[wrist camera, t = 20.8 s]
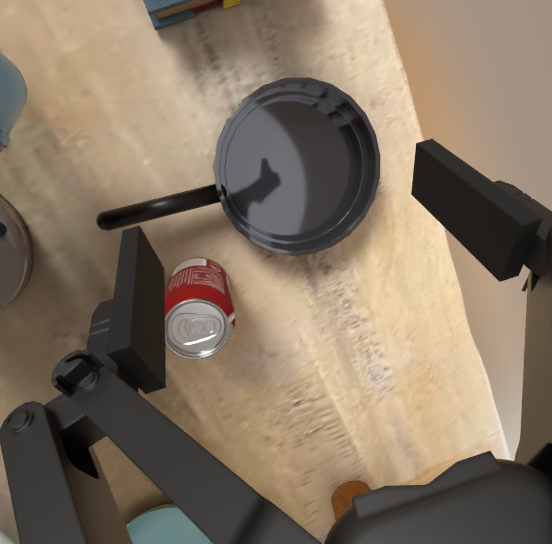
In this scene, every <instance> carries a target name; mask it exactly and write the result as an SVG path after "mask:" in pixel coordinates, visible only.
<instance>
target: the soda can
mask: <svg viewBox="0 0 552 544" xmlns="http://www.w3.org/2000/svg"><path fill="white" fill-rule="evenodd" d="M234 326H235V312H234V307H233V301H232V296H231V290H230V285H229V280H228V276H227V274H226V272H225V271H224V269H223V268H222V267H221V266H220V265H219V264H217V263H216V262H214V261H212V260H210V259H206V258H192V259H188V260H186V261H184V262H182V263H180V264H179V265H178V266H177V267H176V268H175V269H174V270H173V272H172V274H171V276H170V278H169V281H168V284H167V287H166V290H165V343H166V344H167V346H168V347H169V348H170V349H171V350H172V351H173V352H174V353H176V354H177V355H179V356H181V357H184V358H188V359H202V358H206V357H209V356H211V355H213V354H215V353H216V352H218V351H219V350H220V349H221V348H222V347H223V346H224V344H225V343H226V342H227V340H228V339H229V338H230V336H231V334H232V332H233V330H234Z"/></svg>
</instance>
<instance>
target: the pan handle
mask: <svg viewBox="0 0 552 544" xmlns="http://www.w3.org/2000/svg"><path fill="white" fill-rule="evenodd" d="M221 189H222V191H221V190H219V189H216V184H213V185H209V186H205V187H202V188H198V189H194V190H190V191H186V192H182V193H178V194H174V195H170V196H166V197H162V198H158V199H154V200H150V201H146V202H142V203H138V204H134V205H130V206H126V207H122V208H118V209H114V210H110V211H106V212H102V213H100V214H99V215H98V216H97V219H96V222H97V225H98V226H99V228H101V229H102V230H106V231H109V230H113V229H117V228H121V227H125V226H129V225H133V224H136V223H140V222H144V221H148V220H152V219H156V218H160V217H164V216H168V215H172V214H175V213H179V212H183V211H187V210H191V209H195V208H199V207H203V206H207V205H211V204H214V203H218V202H221V201H220V197H221V196H222V192H223V195H224V197H225V198H226V196H227V190H226V188H225V187H224V186H223V185H221Z"/></svg>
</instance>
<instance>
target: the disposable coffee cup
mask: <svg viewBox="0 0 552 544" xmlns="http://www.w3.org/2000/svg"><path fill="white" fill-rule="evenodd" d="M369 491H371V490H370V489H369V487H368V486H367V484H365V483H364V482H361V481H351V482H348V483H345V484H343V485H342V486H340V487H339V488H338V489H337V490H336V491H335V493H334V494H333V497H332V505H333V509H334V514H335V518H336V520H337V519H338V517H339V516H340V515H341V514H342V513H343V512H344V511H345V510H347V509H348V508H349V507H350V506H352V499H351V498H352V497H354V496H357V495H360V494H363V493H366V492H369Z"/></svg>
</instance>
